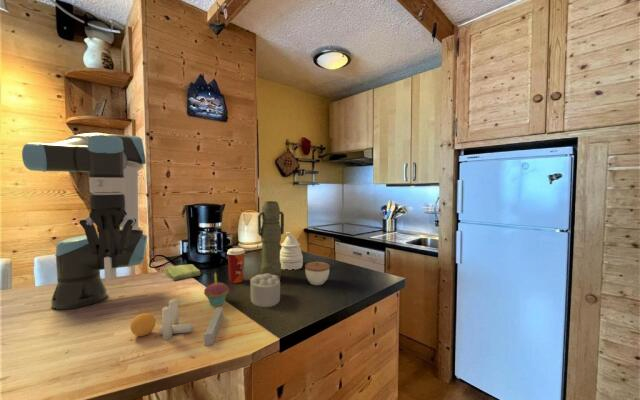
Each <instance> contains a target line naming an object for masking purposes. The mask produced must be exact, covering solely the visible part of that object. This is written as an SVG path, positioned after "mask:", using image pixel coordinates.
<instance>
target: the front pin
mask: <svg viewBox="0 0 640 400" xmlns="http://www.w3.org/2000/svg"><path fill="white" fill-rule="evenodd" d="M193 330H194V323H193V322H192V323H178V324H174V325H172V335H174V334H175V335H176V334H185V333H193ZM158 334H159V335H162V336H163V333H162V325H160V326H159V329H158Z"/></svg>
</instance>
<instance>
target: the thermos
mask: <svg viewBox="0 0 640 400" xmlns="http://www.w3.org/2000/svg"><path fill="white" fill-rule="evenodd" d="M261 210H262V211H261V212H259V213H258V215H257V234H258V235H259V237H260V241H261V264H260V274H267V273H269V274H271V275H277V276H278V278H279V280H281V278H282V276H281V274H282V269H281V262H280V250H281V240H282V235H284V234H285V233H284V232H285V213H284V212H283V211H281V209H280V205H279V202H278V201H275V200H273V201H271V200H270V201H267V200H266V201H265V202H263V205H262V209H261Z"/></svg>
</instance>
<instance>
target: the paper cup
mask: <svg viewBox="0 0 640 400" xmlns="http://www.w3.org/2000/svg"><path fill="white" fill-rule="evenodd" d="M245 253H246V251H245V249H244V248H242V247H234V248H229V249H227V252H226V254H227V263H228V266H227V267H228V276H229V277H228V279H229V283H231V284H239V283H240V284H241V283H242V282H243V281H244V270H245V268H244V267H245Z"/></svg>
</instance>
